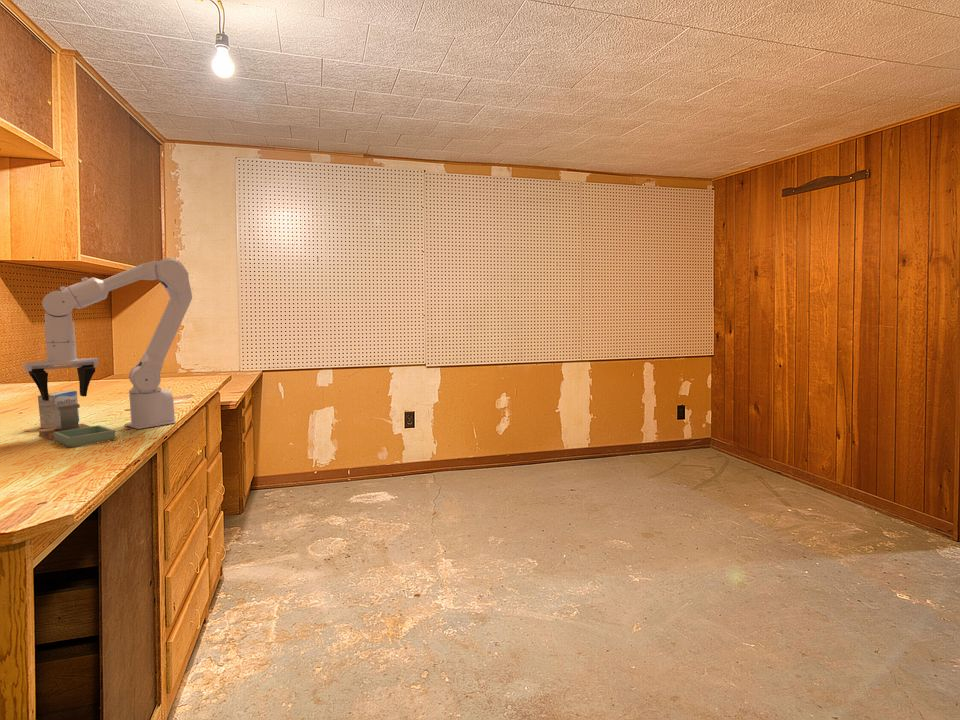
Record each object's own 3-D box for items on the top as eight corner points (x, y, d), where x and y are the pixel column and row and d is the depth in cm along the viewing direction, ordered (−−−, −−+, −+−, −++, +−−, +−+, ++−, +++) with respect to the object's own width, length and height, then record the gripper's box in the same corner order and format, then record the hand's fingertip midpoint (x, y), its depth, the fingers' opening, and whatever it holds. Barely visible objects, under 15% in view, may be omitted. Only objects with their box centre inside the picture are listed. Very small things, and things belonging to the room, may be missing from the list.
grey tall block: (75, 431, 138) (73, 402, 137) (81, 433, 135) (79, 404, 135) (54, 434, 134) (52, 404, 134) (60, 437, 132) (58, 406, 131)
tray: (99, 434, 135) (99, 425, 135) (115, 439, 129) (114, 430, 129) (54, 441, 127) (53, 432, 127) (68, 447, 122) (67, 438, 122)
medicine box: (57, 428, 141) (54, 395, 140) (39, 428, 141) (37, 395, 140) (80, 422, 148) (77, 390, 148) (63, 422, 148) (61, 390, 148)
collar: (82, 428, 141) (82, 423, 141) (96, 433, 136) (96, 428, 136) (39, 434, 134) (38, 429, 134) (51, 440, 129) (51, 435, 128)
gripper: (89, 339, 141) (93, 392, 142) (17, 343, 129) (22, 400, 130) (100, 341, 137) (104, 395, 138) (26, 344, 125) (31, 403, 126)
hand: (64, 398), depth 134 cm, fingers open, 7 cm apart
